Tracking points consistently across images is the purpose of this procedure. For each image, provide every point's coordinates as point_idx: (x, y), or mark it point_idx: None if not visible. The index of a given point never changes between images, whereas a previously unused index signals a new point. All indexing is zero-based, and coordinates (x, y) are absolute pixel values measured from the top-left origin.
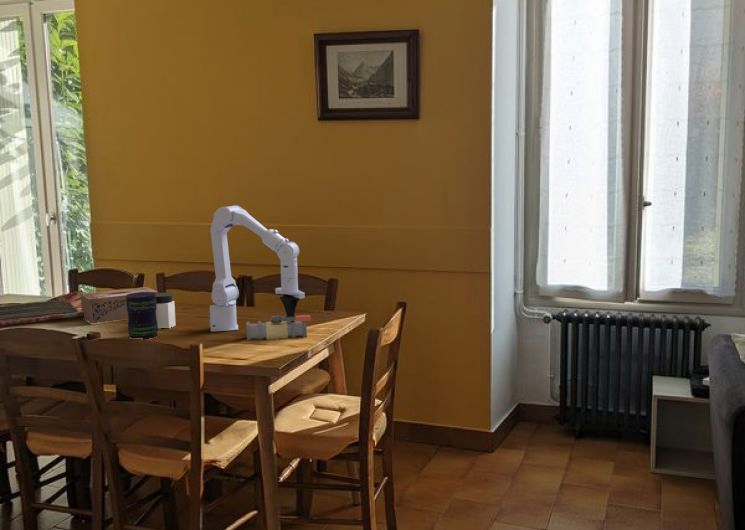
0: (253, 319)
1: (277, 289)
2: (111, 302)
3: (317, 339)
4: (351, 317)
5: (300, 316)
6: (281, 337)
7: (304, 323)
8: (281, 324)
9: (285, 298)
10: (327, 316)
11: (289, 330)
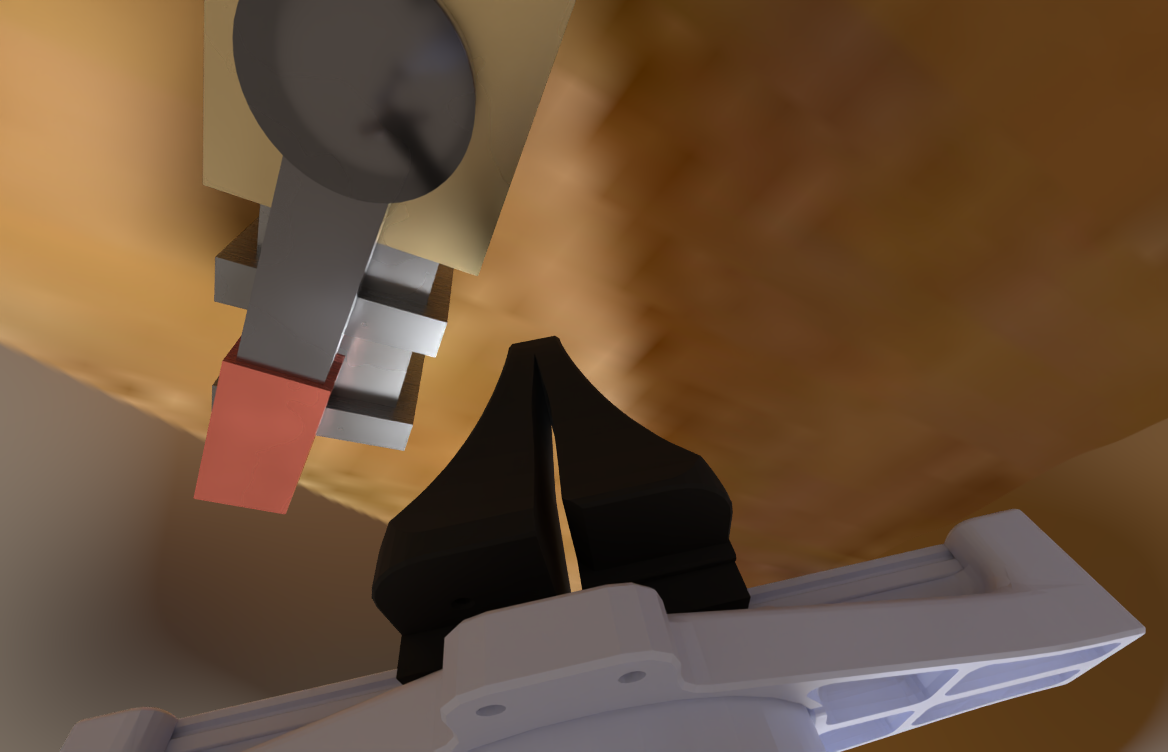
0: (1149, 224)
1: (1023, 633)
2: None
3: (133, 356)
4: None
5: (229, 420)
6: None
7: None
8: (220, 97)
9: (452, 535)
10: (751, 559)
11: None
